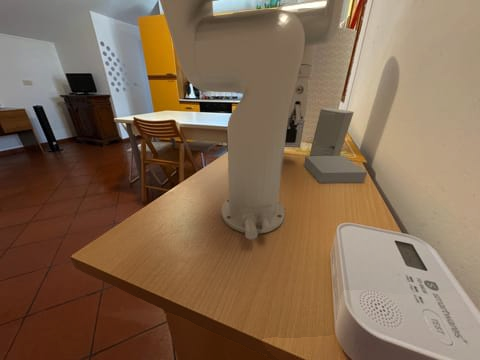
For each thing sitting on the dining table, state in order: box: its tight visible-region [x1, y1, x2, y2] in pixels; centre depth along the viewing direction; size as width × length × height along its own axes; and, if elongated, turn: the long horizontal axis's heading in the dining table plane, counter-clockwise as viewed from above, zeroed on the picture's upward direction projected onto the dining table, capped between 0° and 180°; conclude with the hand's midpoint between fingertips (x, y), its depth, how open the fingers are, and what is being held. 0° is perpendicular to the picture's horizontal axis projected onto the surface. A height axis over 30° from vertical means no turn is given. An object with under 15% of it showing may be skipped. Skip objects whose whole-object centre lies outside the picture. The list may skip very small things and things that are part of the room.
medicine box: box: [285, 116, 306, 149], centre depth 59 cm, size 8×4×9 cm, turn 84°
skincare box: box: [309, 107, 355, 156], centre depth 65 cm, size 8×7×16 cm
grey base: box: [303, 155, 368, 184], centre depth 56 cm, size 12×12×3 cm
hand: (287, 139), depth 60 cm, fingers closed on medicine box, 4 cm apart
